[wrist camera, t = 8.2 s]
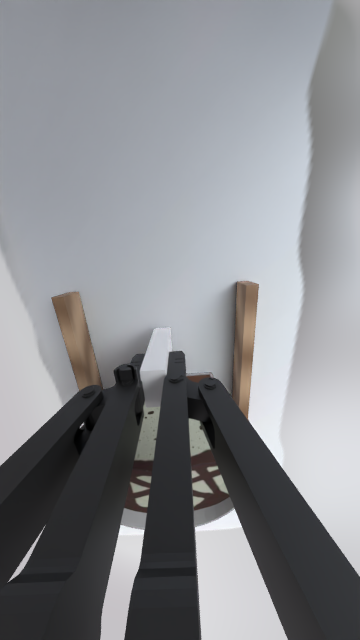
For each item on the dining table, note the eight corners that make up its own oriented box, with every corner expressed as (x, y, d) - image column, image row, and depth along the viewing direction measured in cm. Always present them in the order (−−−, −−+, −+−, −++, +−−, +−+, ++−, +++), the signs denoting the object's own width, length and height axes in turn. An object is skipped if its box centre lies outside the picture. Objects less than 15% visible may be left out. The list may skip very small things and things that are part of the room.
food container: (124, 419, 22) (84, 539, 13) (115, 378, 20) (59, 484, 11) (223, 413, 22) (258, 530, 12) (224, 371, 20) (266, 472, 10)
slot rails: (68, 292, 17) (34, 302, 13) (247, 281, 17) (269, 287, 13) (118, 478, 26) (107, 518, 22) (235, 471, 25) (246, 511, 21)
